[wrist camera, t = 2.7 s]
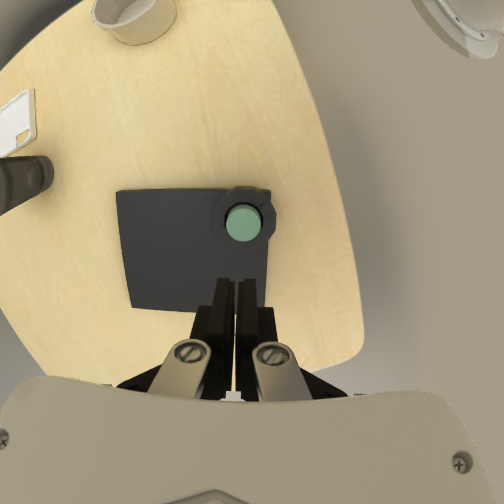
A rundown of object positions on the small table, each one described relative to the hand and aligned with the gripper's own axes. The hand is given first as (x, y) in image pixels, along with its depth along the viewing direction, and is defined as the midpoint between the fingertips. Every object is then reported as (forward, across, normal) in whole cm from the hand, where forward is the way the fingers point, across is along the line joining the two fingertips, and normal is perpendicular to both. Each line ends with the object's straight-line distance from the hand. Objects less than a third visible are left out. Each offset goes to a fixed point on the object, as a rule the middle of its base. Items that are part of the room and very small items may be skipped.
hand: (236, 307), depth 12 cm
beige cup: (+17, +11, -23) cm, 30 cm away
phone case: (+17, +34, -13) cm, 40 cm away
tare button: (+14, 0, 0) cm, 14 cm away
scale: (+17, +5, +4) cm, 18 cm away
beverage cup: (+17, +25, -6) cm, 31 cm away
